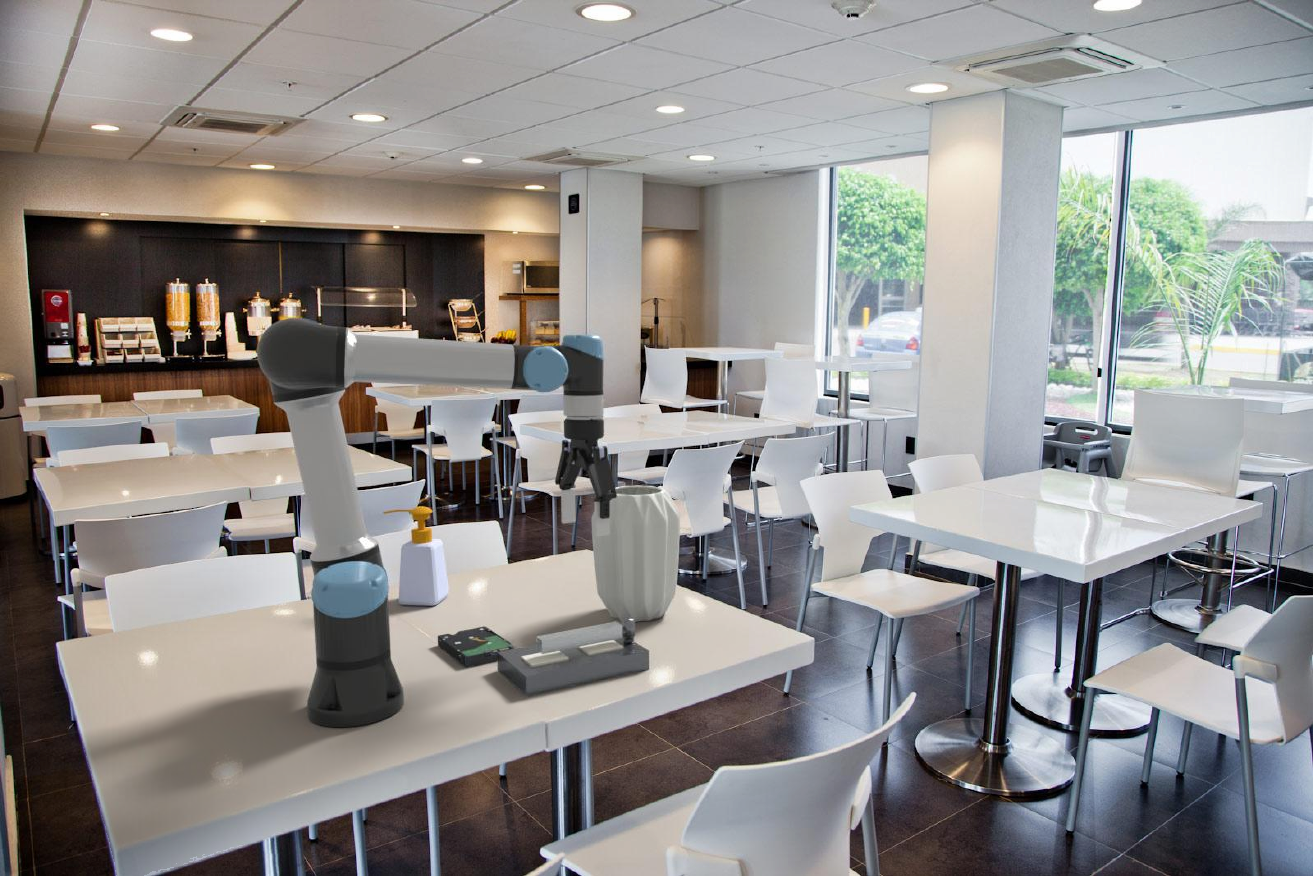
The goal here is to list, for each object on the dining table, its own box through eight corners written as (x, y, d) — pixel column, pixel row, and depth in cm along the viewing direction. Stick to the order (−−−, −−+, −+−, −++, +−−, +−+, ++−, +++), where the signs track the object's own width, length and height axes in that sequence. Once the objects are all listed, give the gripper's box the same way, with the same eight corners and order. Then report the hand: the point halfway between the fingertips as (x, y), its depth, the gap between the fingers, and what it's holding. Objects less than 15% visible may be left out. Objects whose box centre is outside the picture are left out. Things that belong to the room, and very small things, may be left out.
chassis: (526, 696, 155) (525, 672, 154) (497, 670, 167) (497, 647, 166) (649, 669, 167) (649, 646, 166) (614, 646, 179) (613, 625, 178)
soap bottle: (395, 594, 217) (391, 502, 214) (451, 595, 215) (448, 503, 212) (378, 605, 207) (373, 510, 205) (436, 607, 205) (432, 511, 203)
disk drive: (436, 649, 180) (466, 670, 168) (436, 635, 180) (465, 656, 168) (485, 638, 186) (517, 658, 174) (484, 625, 186) (516, 644, 174)
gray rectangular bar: (631, 633, 172) (630, 616, 172) (637, 636, 170) (637, 619, 170) (536, 651, 163) (536, 633, 163) (542, 655, 161) (541, 637, 160)
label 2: (588, 655, 164) (588, 653, 164) (577, 647, 168) (577, 645, 168) (623, 648, 168) (623, 646, 167) (610, 640, 172) (610, 638, 172)
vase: (631, 634, 186) (629, 502, 183) (575, 613, 200) (572, 490, 197) (700, 614, 198) (699, 490, 195) (642, 595, 213) (641, 480, 210)
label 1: (531, 667, 159) (531, 665, 159) (521, 658, 163) (521, 656, 163) (568, 659, 162) (568, 657, 162) (557, 651, 166) (557, 649, 166)
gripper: (635, 421, 162) (635, 538, 164) (571, 411, 183) (572, 515, 185) (598, 423, 158) (599, 543, 160) (537, 413, 179) (538, 519, 181)
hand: (584, 529), depth 173 cm, fingers open, 13 cm apart
